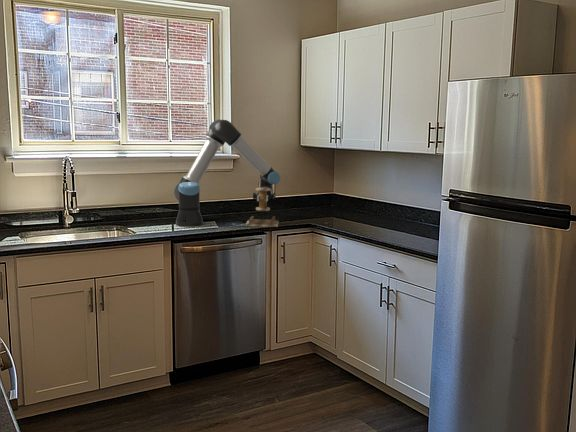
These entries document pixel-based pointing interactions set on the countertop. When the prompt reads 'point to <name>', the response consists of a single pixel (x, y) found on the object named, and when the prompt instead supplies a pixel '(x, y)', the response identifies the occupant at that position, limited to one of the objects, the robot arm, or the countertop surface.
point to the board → (262, 222)
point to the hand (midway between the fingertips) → (262, 198)
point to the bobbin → (262, 199)
